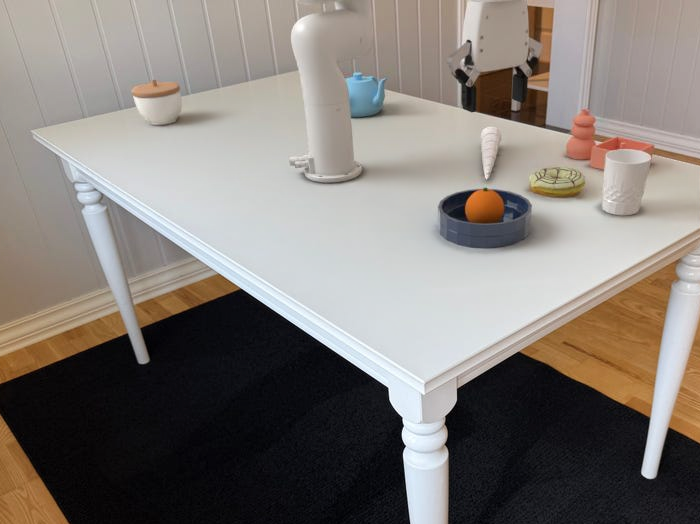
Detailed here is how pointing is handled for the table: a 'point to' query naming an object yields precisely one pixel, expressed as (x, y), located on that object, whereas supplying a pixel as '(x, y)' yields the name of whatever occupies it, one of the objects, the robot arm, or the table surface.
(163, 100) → the lidded bowl
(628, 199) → the white cup
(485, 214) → the orange
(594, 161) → the pottery
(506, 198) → the blue bowl
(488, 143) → the unicorn horn
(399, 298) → the table surface
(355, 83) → the teapot
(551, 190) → the decorated donut
